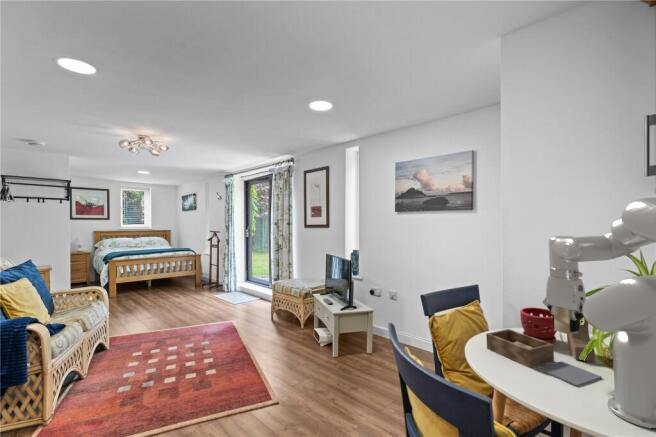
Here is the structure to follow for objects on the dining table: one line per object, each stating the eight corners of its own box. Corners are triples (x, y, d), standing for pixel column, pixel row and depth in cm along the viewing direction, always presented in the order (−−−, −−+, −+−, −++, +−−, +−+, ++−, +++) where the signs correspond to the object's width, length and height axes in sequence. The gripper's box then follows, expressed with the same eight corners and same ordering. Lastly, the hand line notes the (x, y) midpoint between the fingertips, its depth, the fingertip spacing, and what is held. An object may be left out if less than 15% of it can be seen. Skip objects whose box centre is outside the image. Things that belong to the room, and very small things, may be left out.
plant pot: (514, 338, 134) (513, 310, 134) (532, 332, 140) (531, 305, 140) (548, 349, 122) (546, 318, 122) (565, 341, 128) (564, 312, 128)
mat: (601, 378, 99) (601, 376, 99) (576, 386, 95) (576, 384, 95) (561, 362, 110) (561, 361, 110) (538, 369, 106) (538, 368, 106)
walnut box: (554, 361, 112) (553, 344, 112) (530, 368, 108) (529, 350, 108) (509, 343, 129) (508, 328, 129) (487, 348, 125) (486, 333, 125)
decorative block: (595, 363, 109) (592, 305, 110) (575, 360, 112) (572, 304, 112) (585, 350, 119) (583, 298, 120) (567, 348, 122) (565, 297, 122)
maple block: (578, 332, 102) (577, 307, 102) (569, 334, 100) (568, 309, 100) (563, 327, 106) (562, 304, 106) (554, 330, 104) (553, 306, 104)
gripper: (601, 276, 96) (603, 335, 96) (545, 269, 112) (548, 319, 112) (585, 279, 94) (587, 340, 94) (531, 271, 110) (533, 323, 110)
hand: (566, 328), depth 103 cm, fingers closed on maple block, 4 cm apart
